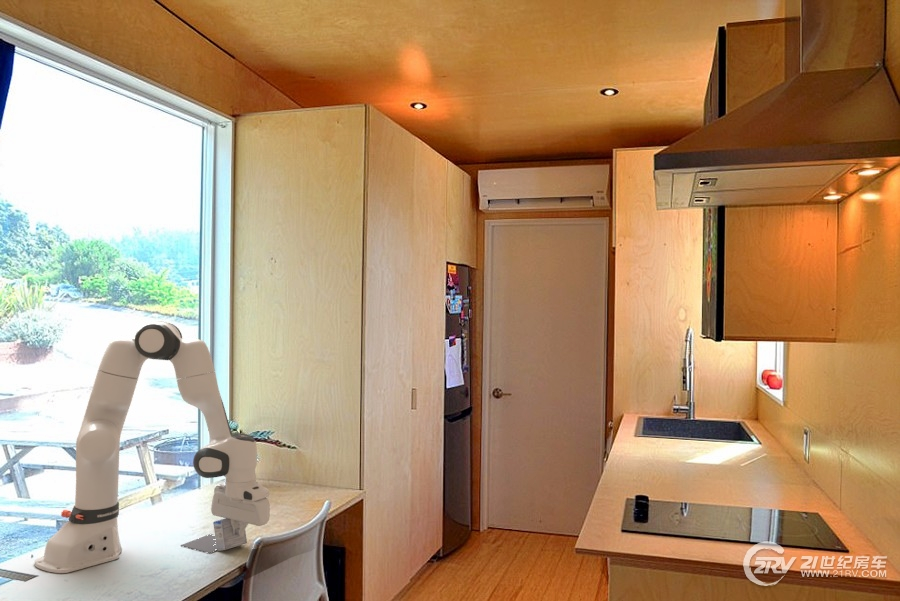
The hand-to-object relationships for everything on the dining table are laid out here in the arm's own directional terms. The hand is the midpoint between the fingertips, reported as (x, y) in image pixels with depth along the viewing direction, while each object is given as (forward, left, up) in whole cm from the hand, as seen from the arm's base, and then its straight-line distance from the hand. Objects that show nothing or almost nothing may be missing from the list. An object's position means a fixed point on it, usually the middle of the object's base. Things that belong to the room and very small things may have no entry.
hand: (238, 534), depth 206 cm
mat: (0, +12, -5) cm, 13 cm away
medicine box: (0, +3, -4) cm, 5 cm away
